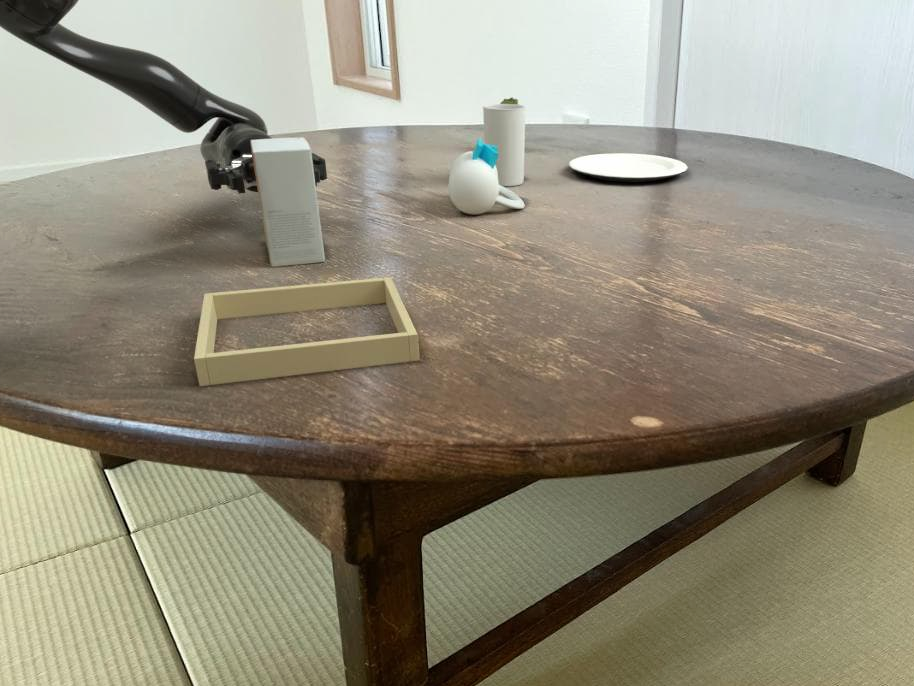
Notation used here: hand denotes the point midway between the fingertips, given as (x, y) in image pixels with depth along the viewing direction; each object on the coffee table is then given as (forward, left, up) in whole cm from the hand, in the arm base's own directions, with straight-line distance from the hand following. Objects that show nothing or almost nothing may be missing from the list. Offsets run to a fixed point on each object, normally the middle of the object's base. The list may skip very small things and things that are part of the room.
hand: (277, 181), depth 96 cm
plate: (+59, +30, -8) cm, 66 cm away
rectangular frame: (+1, -32, -8) cm, 33 cm away
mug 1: (+36, +30, -8) cm, 47 cm away
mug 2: (+29, +12, -8) cm, 32 cm away
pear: (+45, +56, -8) cm, 72 cm away
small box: (+1, -4, -8) cm, 9 cm away
